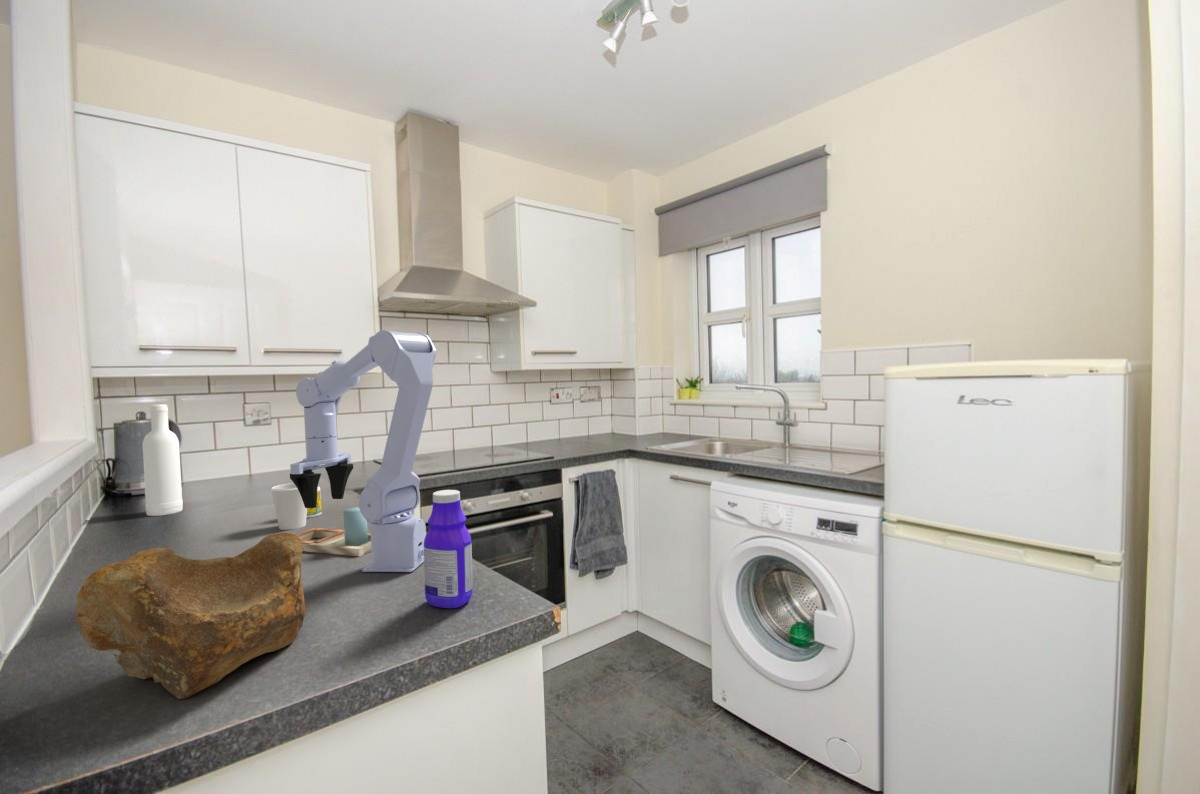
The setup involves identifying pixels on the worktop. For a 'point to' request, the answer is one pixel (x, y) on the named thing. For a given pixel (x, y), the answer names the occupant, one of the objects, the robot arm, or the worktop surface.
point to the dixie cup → (289, 506)
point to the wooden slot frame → (331, 542)
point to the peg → (355, 527)
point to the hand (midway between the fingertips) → (324, 503)
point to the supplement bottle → (318, 510)
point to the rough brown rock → (194, 611)
